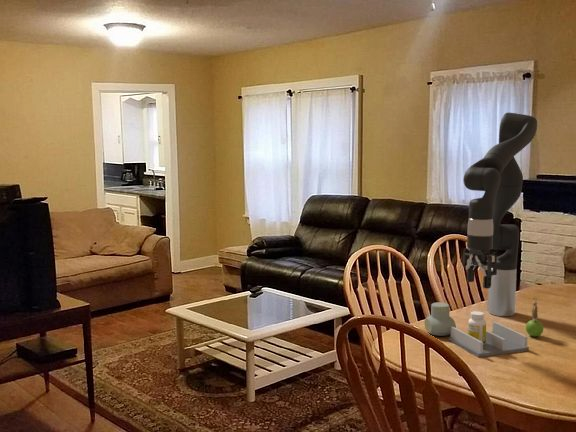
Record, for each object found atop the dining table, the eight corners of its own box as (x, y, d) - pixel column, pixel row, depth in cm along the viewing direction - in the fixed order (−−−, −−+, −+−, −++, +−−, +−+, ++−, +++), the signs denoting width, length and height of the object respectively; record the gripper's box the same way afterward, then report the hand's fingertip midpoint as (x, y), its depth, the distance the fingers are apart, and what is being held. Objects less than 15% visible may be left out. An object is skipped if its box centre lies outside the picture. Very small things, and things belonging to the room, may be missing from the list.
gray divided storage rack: (448, 340, 195) (448, 326, 195) (496, 334, 201) (496, 321, 200) (478, 357, 180) (478, 342, 180) (528, 350, 186) (529, 336, 185)
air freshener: (422, 329, 207) (423, 300, 206) (445, 328, 208) (446, 299, 207) (433, 339, 197) (433, 309, 195) (457, 338, 197) (458, 308, 196)
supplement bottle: (481, 340, 192) (482, 310, 191) (488, 346, 187) (489, 315, 186) (464, 340, 192) (465, 310, 191) (471, 346, 187) (472, 315, 185)
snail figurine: (542, 333, 201) (543, 298, 200) (543, 339, 195) (545, 303, 194) (524, 331, 203) (526, 297, 202) (525, 337, 197) (527, 302, 196)
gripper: (505, 236, 179) (503, 289, 181) (477, 229, 193) (475, 278, 195) (483, 237, 177) (481, 291, 179) (456, 230, 190) (454, 280, 193)
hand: (478, 284), depth 187 cm, fingers open, 8 cm apart
